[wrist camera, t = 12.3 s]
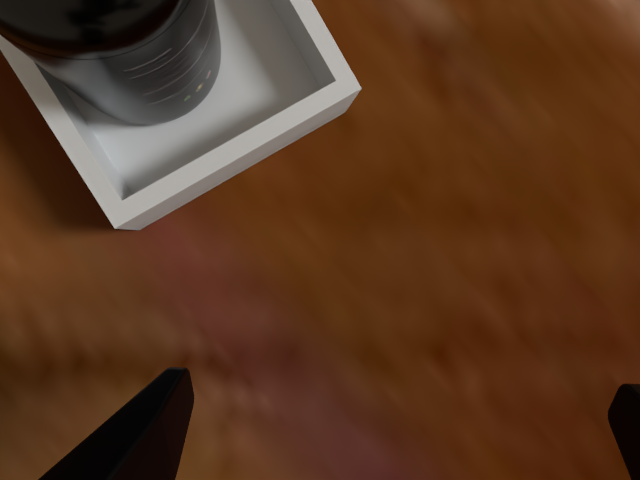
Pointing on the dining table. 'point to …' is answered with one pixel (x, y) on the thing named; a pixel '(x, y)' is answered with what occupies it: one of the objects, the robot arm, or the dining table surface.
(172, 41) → the supplement bottle
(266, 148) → the tray
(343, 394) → the dining table surface
